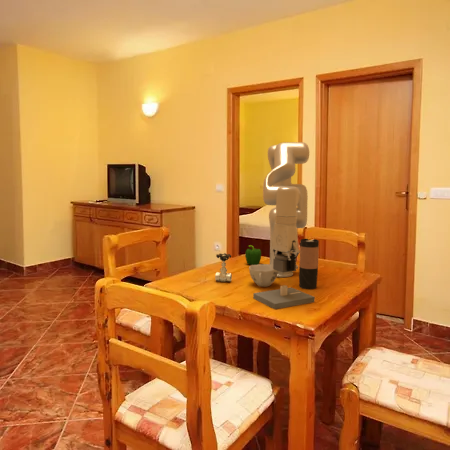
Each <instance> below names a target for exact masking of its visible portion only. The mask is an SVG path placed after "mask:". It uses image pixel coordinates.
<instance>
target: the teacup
mask: <svg viewBox="0 0 450 450" xmlns="http://www.w3.org/2000/svg"><path fill="white" fill-rule="evenodd" d="M248 271H249V275H250V277H251V280H252V281H253V282H254V283H255V284H256V285H257V286H258V287H261V288H262V287H264V288H266V287H270V286H271V285H272V284H273V283H274V282H275V281H276V280H277V278H278V277H277V275H278V271H277V270H274V269H273V265H270V263H267V264H265V263H261V264H260V263H259V264H258V265H249V267H248Z"/></svg>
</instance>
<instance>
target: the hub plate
mask: <svg viewBox="0 0 450 450" xmlns="http://www.w3.org/2000/svg"><path fill="white" fill-rule="evenodd" d="M279 287H280V288H278V289H273V290H266V291H260V292H254V293H253V299H254V300H256V301H258V302H260V303H261V304H264V305H266V306H267V307H269V308H271V309H273V310H278V309H285V308H290V307H295V306H299V305H301V306H302V305H306V304H311V303H315V296H314V295H312V294H308V293H307V292H304V291H302V290H298V289H296V288H293V287H288V285H285V284H283V285H279Z"/></svg>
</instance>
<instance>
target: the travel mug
mask: <svg viewBox="0 0 450 450" xmlns="http://www.w3.org/2000/svg"><path fill="white" fill-rule="evenodd" d="M299 244H300V247H299V250H300V253H299V263H298V264H299V265H298V269H299V270H298V271H299V273H298V275H299V281H298V282H299V283H298V284H299V285H298V286H299V288H301V289H303V290H315V289H317V287H318V286H317V285H318V275H319V274H318V273H319V249H320V248H319V246H320V245H319V244H320V241H319V240H318V239H316V238H314V239H311V240H310V239H308V238H302V239H300V243H299Z"/></svg>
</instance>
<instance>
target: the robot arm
mask: <svg viewBox="0 0 450 450" xmlns="http://www.w3.org/2000/svg"><path fill="white" fill-rule="evenodd" d="M309 158H310V148H309V146H308V144H307V143H306V142H302V141H299V142H297V141H296V142H295V141H292V142H291V141H290V142H289V141H287V142H286V141H285V142H284V141H283V142H280V143H278V144H273V145H271V146H269V147H268V149H267V159H268V164H269V166H270V167H269V168H271V170H270V171H269V172H268V173H267V175H266V176H265V178H264V180H263V186H262V200H263V203H264V204H265V205H267V206H275V207H273V208H271V209H270V210H269V212H268V220H269V230H270V231H269V233H270V234H269V239H270V240H269V265H273V259H276V255H277V254H287V257H288V260H287V271H292V272H284V273H283V272H280V271H278V275H277V277H276V278H288V277H292V276H293V275H294V272H295V271H294V270H295V260H296V261H297V257H298V255H300V248H299V247H298V245H299V244H298V241H299V240H298V238H299V236H298V229H304V228H306V227H307V225H308V189H307V187H306V185H304V184H301V183H292V178H293V176H294V175H295V173H296V165H303V164H306V163H307V162H308V161H309ZM290 254H291V256H290ZM298 269H299V265H298V264H296V270H298Z"/></svg>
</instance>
